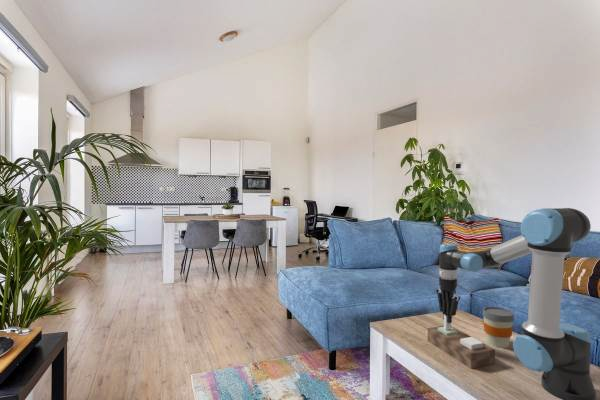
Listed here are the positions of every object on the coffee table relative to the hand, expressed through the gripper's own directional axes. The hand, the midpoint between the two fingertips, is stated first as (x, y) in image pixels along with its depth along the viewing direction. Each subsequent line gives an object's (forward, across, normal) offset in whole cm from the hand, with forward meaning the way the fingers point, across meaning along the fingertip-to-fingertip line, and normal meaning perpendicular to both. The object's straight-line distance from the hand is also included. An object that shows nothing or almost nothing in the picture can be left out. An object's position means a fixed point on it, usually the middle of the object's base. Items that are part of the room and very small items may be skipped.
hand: (447, 328), depth 155 cm
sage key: (+5, 0, 0) cm, 5 cm away
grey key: (+5, +14, 0) cm, 15 cm away
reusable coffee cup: (+8, +6, +23) cm, 25 cm away
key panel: (+7, +7, 0) cm, 10 cm away
